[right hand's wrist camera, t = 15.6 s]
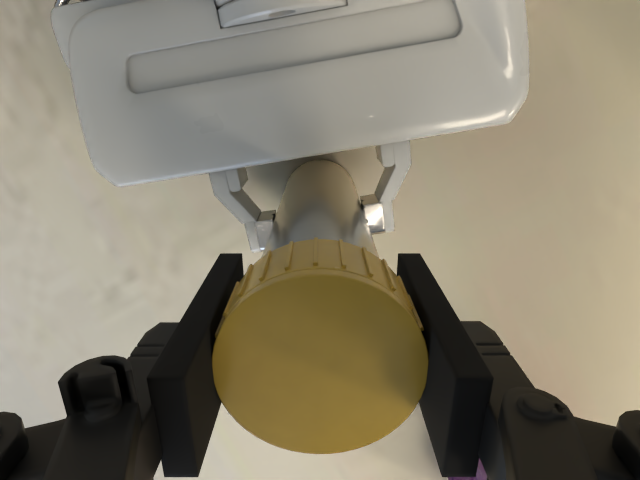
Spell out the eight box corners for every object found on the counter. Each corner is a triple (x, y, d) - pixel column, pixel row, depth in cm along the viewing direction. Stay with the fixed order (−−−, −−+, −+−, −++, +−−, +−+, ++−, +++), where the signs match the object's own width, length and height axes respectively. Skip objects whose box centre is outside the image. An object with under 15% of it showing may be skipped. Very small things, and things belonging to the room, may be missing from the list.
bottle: (295, 233, 29) (259, 443, 12) (277, 168, 27) (206, 303, 10) (361, 219, 28) (421, 414, 11) (347, 152, 27) (393, 264, 10)
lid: (257, 408, 14) (245, 472, 12) (202, 258, 12) (175, 299, 10) (423, 377, 13) (445, 437, 11) (395, 216, 11) (413, 248, 9)
